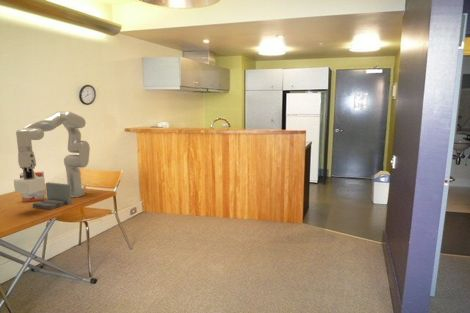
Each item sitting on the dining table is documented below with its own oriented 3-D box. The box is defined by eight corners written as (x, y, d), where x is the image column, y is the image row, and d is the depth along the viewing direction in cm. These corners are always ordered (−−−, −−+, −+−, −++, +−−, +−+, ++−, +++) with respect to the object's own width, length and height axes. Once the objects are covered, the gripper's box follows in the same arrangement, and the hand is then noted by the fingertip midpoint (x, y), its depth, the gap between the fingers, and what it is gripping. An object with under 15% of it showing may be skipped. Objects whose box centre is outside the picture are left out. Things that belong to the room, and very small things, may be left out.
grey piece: (50, 201, 233) (48, 182, 231) (71, 203, 226) (69, 184, 224) (30, 207, 219) (28, 187, 217) (52, 210, 212) (50, 189, 210)
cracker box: (22, 202, 231) (19, 173, 227) (24, 200, 236) (21, 172, 233) (44, 200, 235) (41, 172, 232) (46, 198, 241) (43, 170, 237)
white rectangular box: (31, 187, 215) (29, 168, 213) (45, 189, 211) (43, 170, 209) (14, 192, 204) (11, 172, 202) (28, 193, 200) (26, 173, 198)
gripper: (39, 148, 204) (42, 177, 207) (22, 148, 209) (25, 175, 212) (28, 150, 197) (31, 179, 200) (10, 149, 202) (14, 178, 205)
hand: (28, 177), depth 206 cm, fingers closed on white rectangular box, 1 cm apart
